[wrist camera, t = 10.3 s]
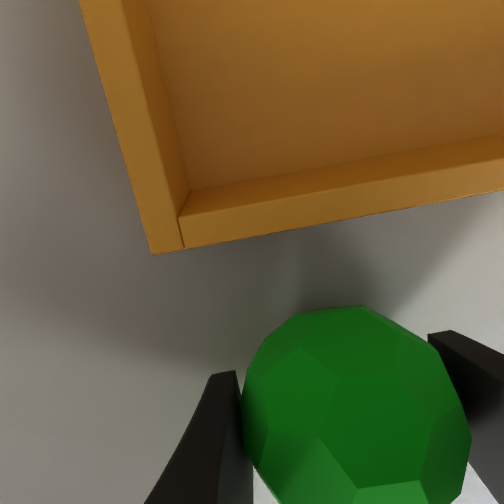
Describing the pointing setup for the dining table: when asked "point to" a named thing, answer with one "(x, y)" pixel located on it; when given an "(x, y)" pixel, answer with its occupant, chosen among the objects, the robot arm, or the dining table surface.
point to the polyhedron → (353, 413)
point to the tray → (298, 109)
